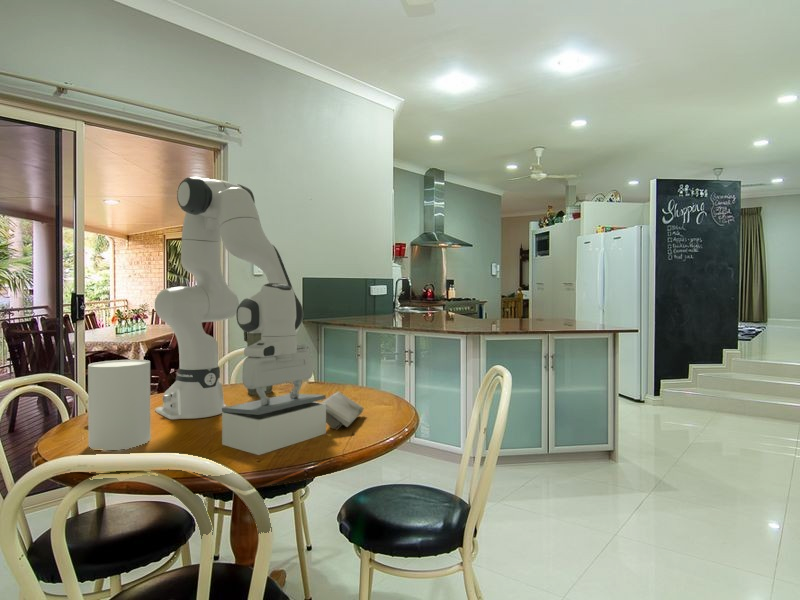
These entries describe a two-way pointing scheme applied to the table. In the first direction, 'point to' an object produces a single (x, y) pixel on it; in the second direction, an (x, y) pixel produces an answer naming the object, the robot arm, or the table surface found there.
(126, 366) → the canister
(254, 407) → the lid
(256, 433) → the storage box
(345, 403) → the packaged product
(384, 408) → the table surface
